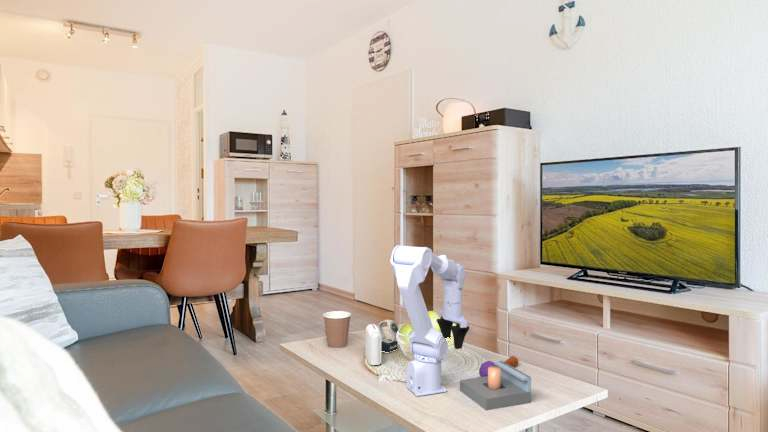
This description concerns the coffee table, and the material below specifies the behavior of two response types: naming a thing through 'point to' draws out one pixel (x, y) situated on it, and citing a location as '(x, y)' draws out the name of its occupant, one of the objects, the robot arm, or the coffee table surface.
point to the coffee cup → (337, 328)
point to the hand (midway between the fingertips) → (452, 344)
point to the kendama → (484, 366)
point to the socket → (510, 394)
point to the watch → (386, 343)
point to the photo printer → (373, 344)
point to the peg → (494, 378)
